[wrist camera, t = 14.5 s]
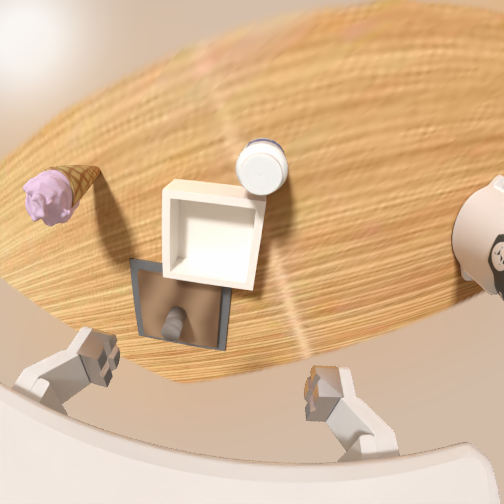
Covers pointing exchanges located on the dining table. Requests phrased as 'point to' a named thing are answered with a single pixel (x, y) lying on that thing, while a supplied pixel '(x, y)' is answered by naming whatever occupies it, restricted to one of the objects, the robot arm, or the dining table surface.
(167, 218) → the dish
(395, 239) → the dining table surface
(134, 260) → the mat
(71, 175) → the ice cream cone
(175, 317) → the lid
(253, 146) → the pill bottle
